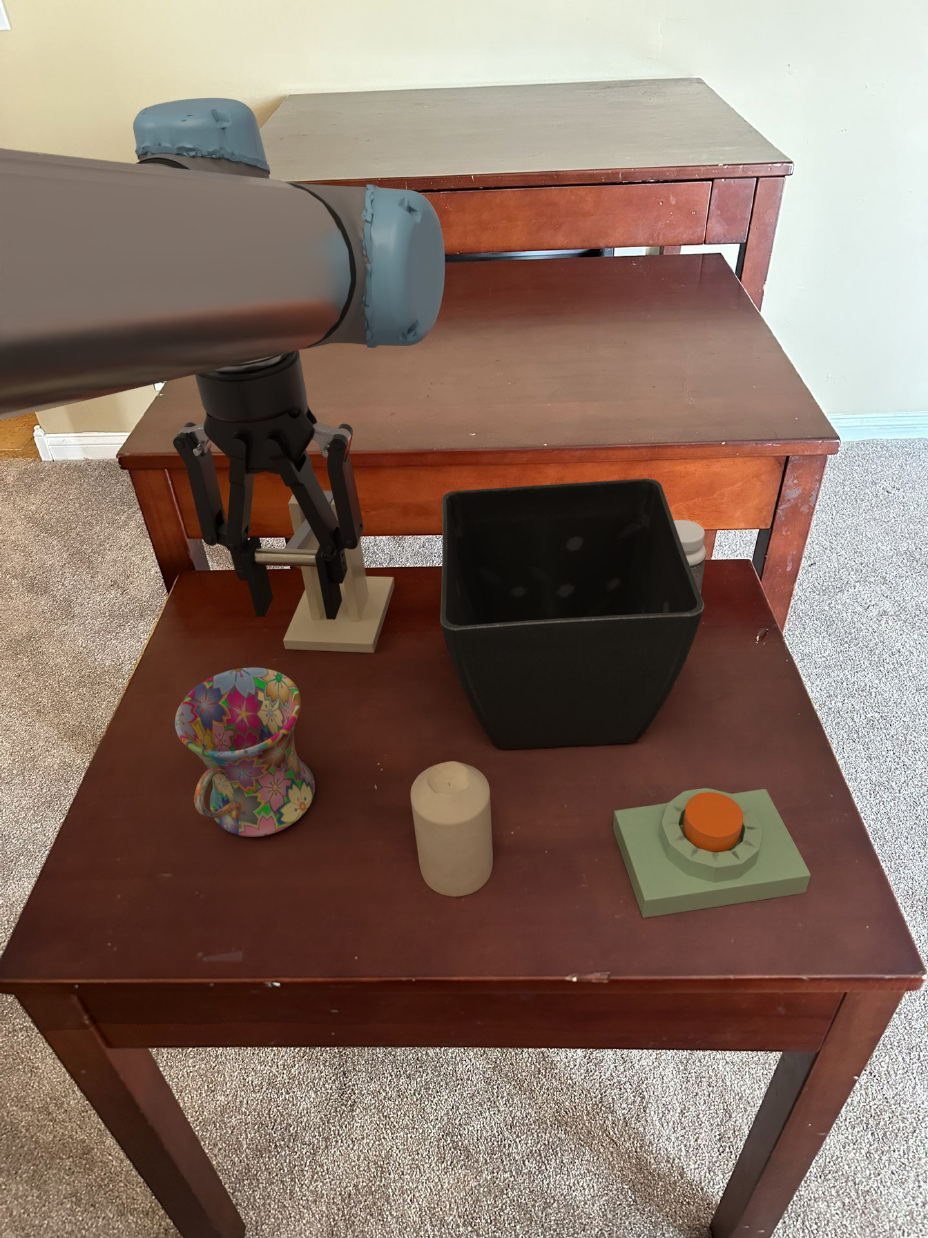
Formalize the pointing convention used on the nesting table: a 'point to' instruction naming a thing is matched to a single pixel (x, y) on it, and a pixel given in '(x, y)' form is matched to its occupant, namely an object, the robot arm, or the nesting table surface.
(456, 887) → the candle
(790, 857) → the control block
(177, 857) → the nesting table surface
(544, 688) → the flower pot
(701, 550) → the pill bottle
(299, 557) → the lever
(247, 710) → the mug
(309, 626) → the bracket
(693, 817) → the button
